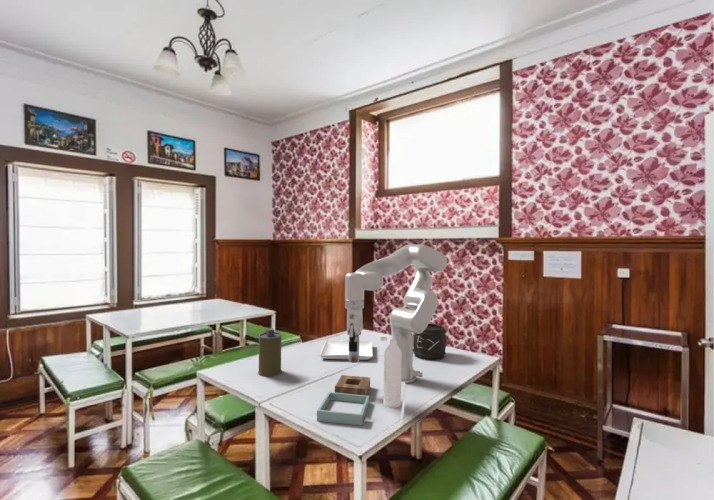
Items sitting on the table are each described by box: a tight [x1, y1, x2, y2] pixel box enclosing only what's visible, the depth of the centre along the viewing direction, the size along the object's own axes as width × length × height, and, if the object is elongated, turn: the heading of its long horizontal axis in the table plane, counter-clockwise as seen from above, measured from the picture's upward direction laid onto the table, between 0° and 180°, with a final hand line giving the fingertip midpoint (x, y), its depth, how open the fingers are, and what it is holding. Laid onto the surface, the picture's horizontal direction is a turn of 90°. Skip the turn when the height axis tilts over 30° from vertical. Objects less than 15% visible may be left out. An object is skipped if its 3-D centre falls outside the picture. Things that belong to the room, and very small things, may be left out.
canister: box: [257, 327, 283, 377], centre depth 170 cm, size 11×10×20 cm
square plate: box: [318, 339, 374, 361], centre depth 200 cm, size 27×27×4 cm
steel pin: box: [346, 332, 362, 364], centre depth 147 cm, size 6×6×12 cm
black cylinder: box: [412, 322, 447, 361], centre depth 198 cm, size 18×18×16 cm
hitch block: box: [334, 374, 371, 396], centre depth 147 cm, size 12×12×5 cm
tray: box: [316, 391, 370, 427], centre depth 132 cm, size 16×16×4 cm
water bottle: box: [379, 336, 402, 409], centre depth 138 cm, size 9×6×25 cm
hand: (354, 349), depth 147 cm, fingers closed on steel pin, 4 cm apart
